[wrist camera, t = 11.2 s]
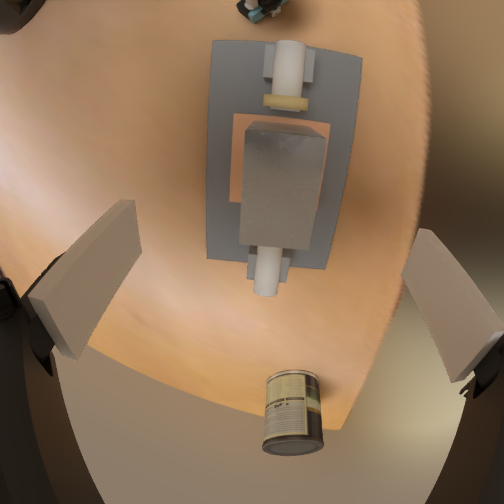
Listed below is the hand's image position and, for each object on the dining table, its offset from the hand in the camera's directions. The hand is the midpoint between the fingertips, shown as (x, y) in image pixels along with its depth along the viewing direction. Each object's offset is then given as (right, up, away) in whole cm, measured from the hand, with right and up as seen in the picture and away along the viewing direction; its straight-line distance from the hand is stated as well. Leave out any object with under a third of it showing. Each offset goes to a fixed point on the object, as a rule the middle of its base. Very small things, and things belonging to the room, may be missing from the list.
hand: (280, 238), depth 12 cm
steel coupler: (+1, +8, +13) cm, 16 cm away
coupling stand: (+1, +9, +15) cm, 17 cm away
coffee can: (+7, -26, +36) cm, 45 cm away
